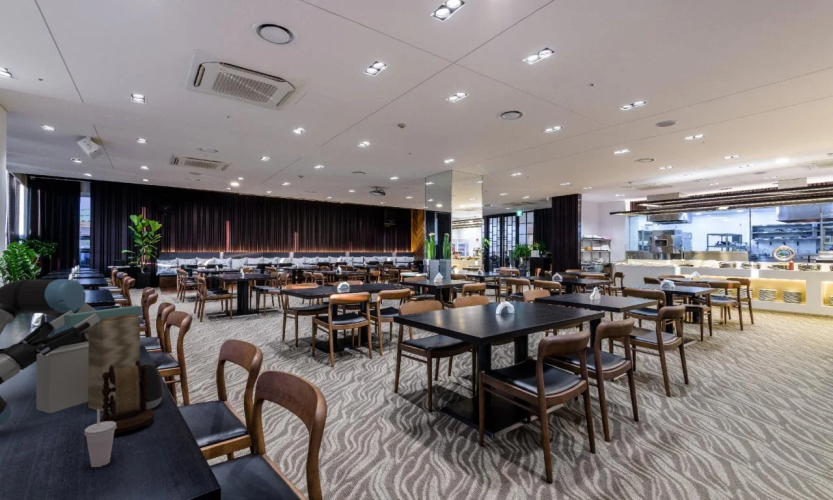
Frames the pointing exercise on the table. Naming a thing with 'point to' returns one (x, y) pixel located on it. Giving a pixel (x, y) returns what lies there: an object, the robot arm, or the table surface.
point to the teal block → (101, 314)
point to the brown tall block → (111, 352)
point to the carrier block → (62, 378)
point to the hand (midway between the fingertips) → (85, 315)
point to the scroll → (126, 398)
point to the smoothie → (100, 441)
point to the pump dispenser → (153, 386)
